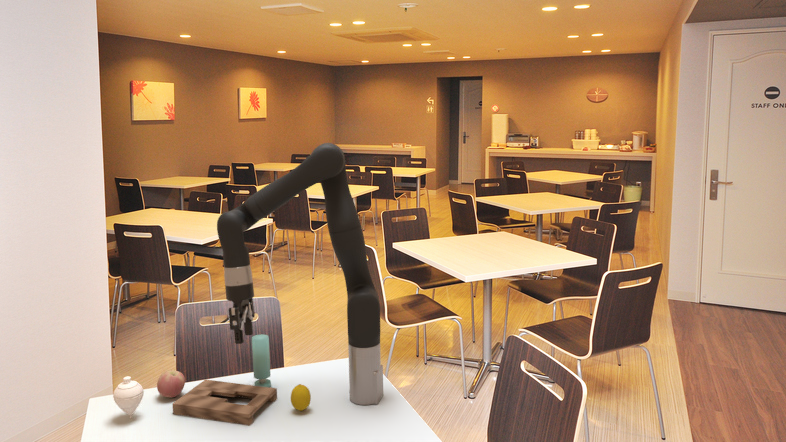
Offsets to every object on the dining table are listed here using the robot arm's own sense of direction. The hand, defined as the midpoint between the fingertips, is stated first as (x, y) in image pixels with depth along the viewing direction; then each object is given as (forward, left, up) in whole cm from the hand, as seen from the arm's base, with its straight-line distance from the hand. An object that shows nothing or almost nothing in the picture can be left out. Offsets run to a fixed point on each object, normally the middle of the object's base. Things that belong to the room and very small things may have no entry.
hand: (244, 339), depth 167 cm
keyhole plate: (+6, +1, -21) cm, 22 cm away
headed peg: (+2, -13, -21) cm, 24 cm away
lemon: (-16, -2, -21) cm, 26 cm away
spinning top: (+28, +14, -21) cm, 38 cm away
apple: (+25, 0, -21) cm, 33 cm away
